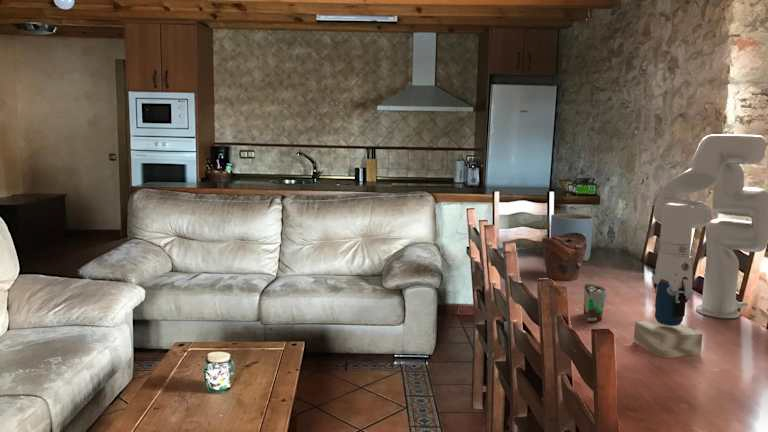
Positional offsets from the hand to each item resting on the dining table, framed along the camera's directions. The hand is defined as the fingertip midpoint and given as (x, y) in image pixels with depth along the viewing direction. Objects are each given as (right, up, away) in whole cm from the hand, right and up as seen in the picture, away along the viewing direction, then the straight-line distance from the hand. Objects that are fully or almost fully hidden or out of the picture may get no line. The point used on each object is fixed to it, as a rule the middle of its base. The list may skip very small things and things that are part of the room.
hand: (669, 311), depth 162 cm
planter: (+10, +6, +118) cm, 118 cm away
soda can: (0, -3, +1) cm, 3 cm away
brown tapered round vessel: (-5, +1, +81) cm, 81 cm away
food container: (-11, -7, +27) cm, 30 cm away
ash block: (0, -10, +1) cm, 11 cm away
